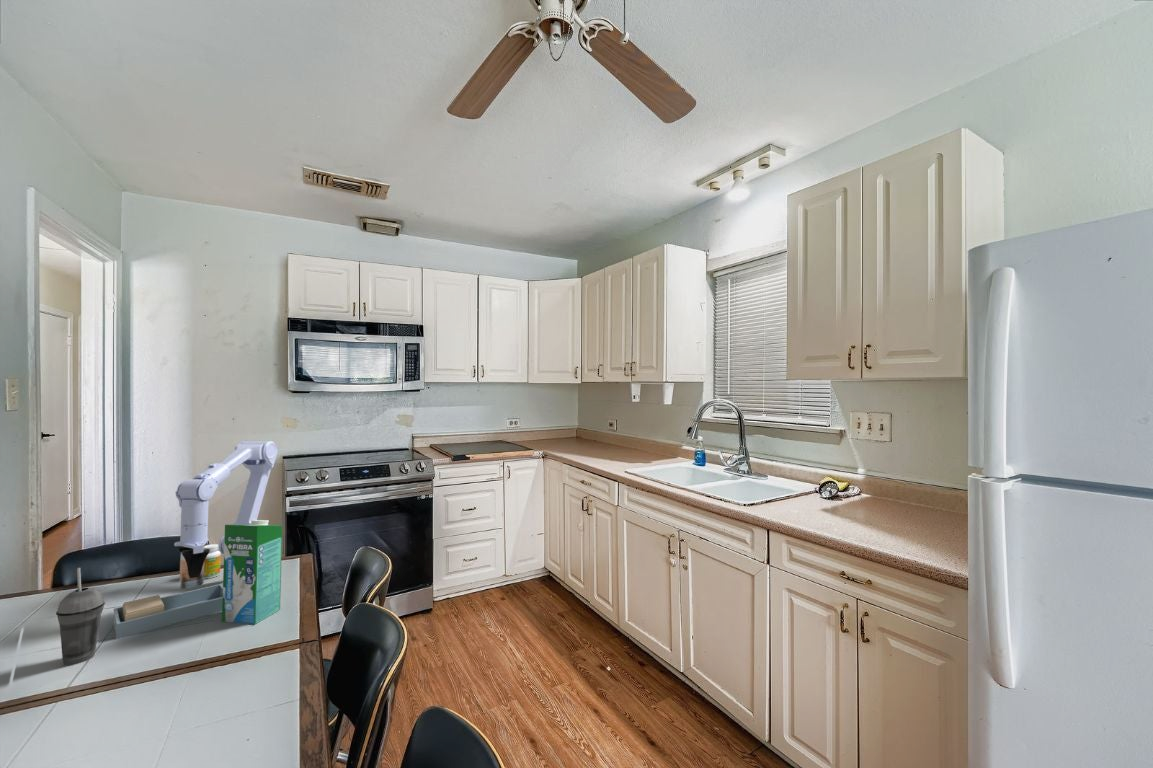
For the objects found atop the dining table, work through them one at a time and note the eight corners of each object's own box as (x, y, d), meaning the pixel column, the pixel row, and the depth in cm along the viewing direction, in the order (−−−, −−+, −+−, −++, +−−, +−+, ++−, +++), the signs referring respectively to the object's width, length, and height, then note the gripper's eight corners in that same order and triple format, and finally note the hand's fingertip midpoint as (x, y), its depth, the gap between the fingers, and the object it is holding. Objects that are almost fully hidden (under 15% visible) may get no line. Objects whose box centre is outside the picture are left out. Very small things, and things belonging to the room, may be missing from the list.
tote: (221, 597, 133) (221, 583, 133) (230, 610, 125) (231, 595, 125) (113, 624, 117) (113, 608, 117) (116, 641, 109) (116, 624, 109)
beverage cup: (70, 673, 96) (74, 575, 97) (44, 669, 98) (48, 573, 98) (111, 654, 103) (115, 563, 104) (86, 651, 105) (90, 561, 105)
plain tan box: (159, 613, 122) (159, 594, 122) (163, 624, 116) (164, 604, 116) (121, 622, 117) (122, 602, 117) (124, 634, 111) (125, 613, 111)
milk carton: (280, 609, 126) (283, 516, 127) (254, 625, 117) (257, 525, 118) (249, 607, 127) (252, 515, 128) (221, 623, 118) (224, 524, 119)
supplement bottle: (206, 580, 146) (207, 549, 146) (194, 578, 148) (195, 547, 148) (224, 574, 151) (225, 544, 152) (212, 572, 153) (213, 542, 153)
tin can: (202, 579, 129) (203, 546, 129) (205, 584, 125) (206, 551, 125) (178, 584, 125) (179, 550, 125) (180, 590, 122) (181, 555, 122)
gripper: (171, 521, 128) (169, 571, 127) (179, 531, 118) (177, 586, 117) (204, 517, 133) (202, 565, 132) (214, 526, 123) (212, 578, 123)
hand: (192, 574), depth 125 cm, fingers closed on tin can, 5 cm apart
